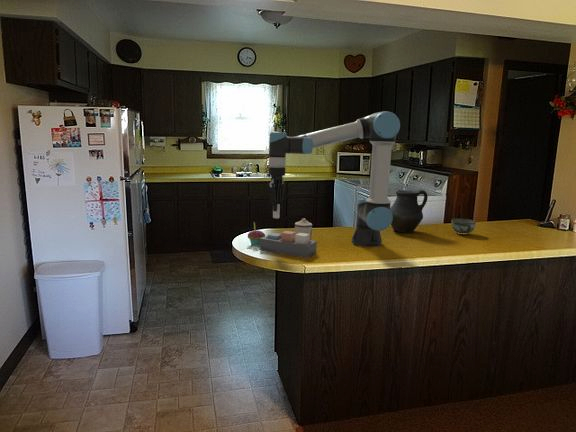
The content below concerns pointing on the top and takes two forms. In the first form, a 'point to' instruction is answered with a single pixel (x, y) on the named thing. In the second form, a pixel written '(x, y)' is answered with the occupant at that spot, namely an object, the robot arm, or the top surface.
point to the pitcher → (407, 210)
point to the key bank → (288, 247)
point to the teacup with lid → (303, 227)
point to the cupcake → (255, 236)
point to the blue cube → (274, 236)
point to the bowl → (463, 225)
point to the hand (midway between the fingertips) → (276, 217)
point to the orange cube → (288, 236)
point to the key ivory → (302, 238)
